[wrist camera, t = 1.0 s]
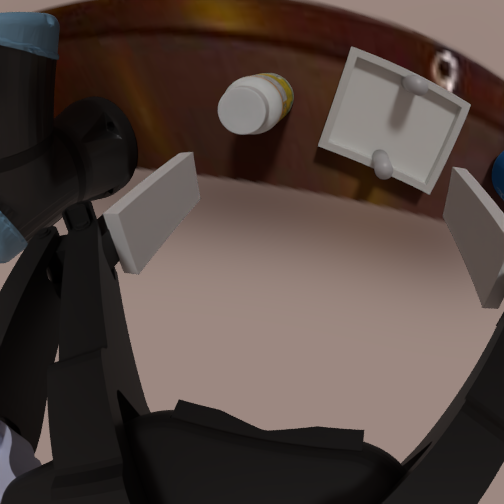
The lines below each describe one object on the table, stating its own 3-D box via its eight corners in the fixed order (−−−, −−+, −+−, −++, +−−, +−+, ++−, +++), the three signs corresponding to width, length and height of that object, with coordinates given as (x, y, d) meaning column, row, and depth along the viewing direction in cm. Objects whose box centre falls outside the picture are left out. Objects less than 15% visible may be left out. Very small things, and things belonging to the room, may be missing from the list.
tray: (319, 140, 31) (315, 154, 27) (350, 47, 24) (352, 44, 20) (425, 186, 30) (435, 207, 26) (463, 101, 23) (482, 109, 19)
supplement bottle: (277, 63, 28) (251, 65, 20) (304, 105, 30) (288, 123, 22) (235, 89, 30) (197, 101, 23) (262, 128, 32) (233, 153, 25)
